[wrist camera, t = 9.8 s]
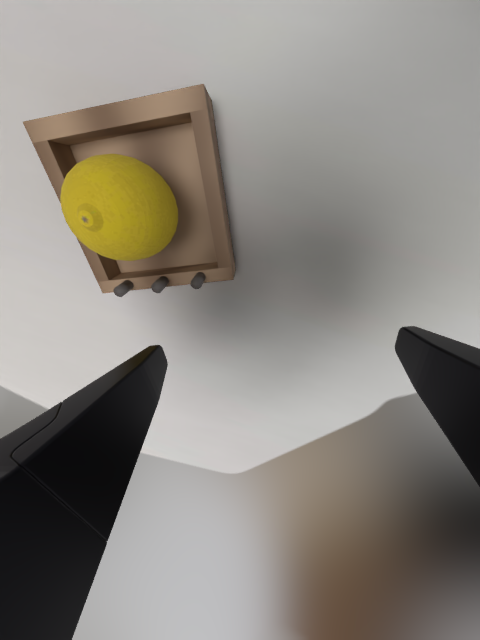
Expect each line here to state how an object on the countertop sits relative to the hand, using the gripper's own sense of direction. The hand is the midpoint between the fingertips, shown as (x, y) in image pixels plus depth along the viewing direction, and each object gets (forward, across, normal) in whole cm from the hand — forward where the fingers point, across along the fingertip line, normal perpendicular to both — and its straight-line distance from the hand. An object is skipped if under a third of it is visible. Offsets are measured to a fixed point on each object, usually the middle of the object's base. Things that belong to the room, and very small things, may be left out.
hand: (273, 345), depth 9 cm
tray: (+12, +8, -5) cm, 15 cm away
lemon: (+12, +8, -5) cm, 15 cm away
